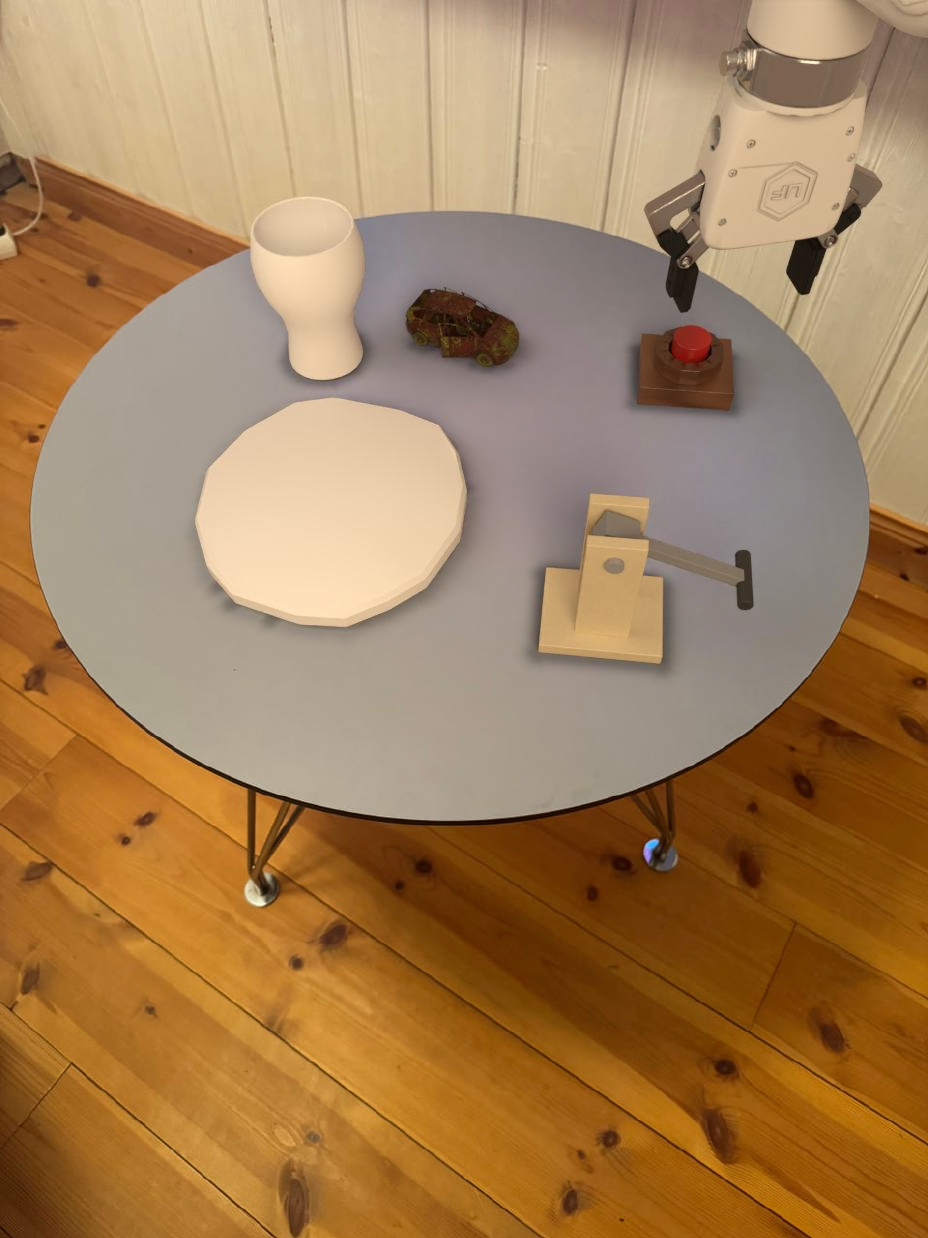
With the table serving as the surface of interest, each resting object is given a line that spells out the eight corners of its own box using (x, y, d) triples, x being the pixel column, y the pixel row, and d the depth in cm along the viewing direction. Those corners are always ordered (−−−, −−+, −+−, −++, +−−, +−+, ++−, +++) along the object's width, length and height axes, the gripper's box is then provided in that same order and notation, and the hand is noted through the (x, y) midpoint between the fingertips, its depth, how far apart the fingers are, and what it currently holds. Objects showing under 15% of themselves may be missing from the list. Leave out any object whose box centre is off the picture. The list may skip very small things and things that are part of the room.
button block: (726, 355, 95) (735, 324, 92) (729, 410, 91) (738, 379, 88) (639, 350, 96) (644, 318, 93) (637, 404, 92) (643, 372, 88)
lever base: (661, 584, 80) (687, 485, 69) (660, 664, 75) (688, 570, 65) (545, 574, 80) (554, 474, 70) (538, 652, 76) (546, 558, 65)
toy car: (396, 348, 97) (392, 310, 93) (427, 309, 100) (425, 271, 96) (499, 382, 94) (499, 344, 90) (527, 341, 97) (529, 302, 93)
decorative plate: (259, 361, 90) (502, 415, 85) (268, 393, 94) (501, 446, 89) (131, 556, 77) (408, 631, 73) (147, 584, 81) (412, 658, 76)
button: (707, 340, 91) (711, 325, 90) (708, 364, 89) (712, 350, 88) (671, 337, 92) (673, 323, 90) (670, 362, 90) (673, 348, 88)
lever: (740, 564, 74) (758, 547, 72) (743, 616, 71) (761, 600, 69) (593, 514, 71) (607, 495, 69) (590, 566, 68) (605, 548, 66)
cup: (255, 367, 96) (220, 238, 83) (316, 310, 101) (291, 180, 88) (337, 404, 93) (314, 275, 80) (396, 343, 98) (383, 212, 85)
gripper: (687, 110, 55) (645, 339, 69) (957, 75, 57) (862, 307, 71) (649, 49, 59) (617, 278, 73) (902, 19, 61) (823, 249, 75)
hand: (738, 292), depth 72 cm, fingers open, 9 cm apart
